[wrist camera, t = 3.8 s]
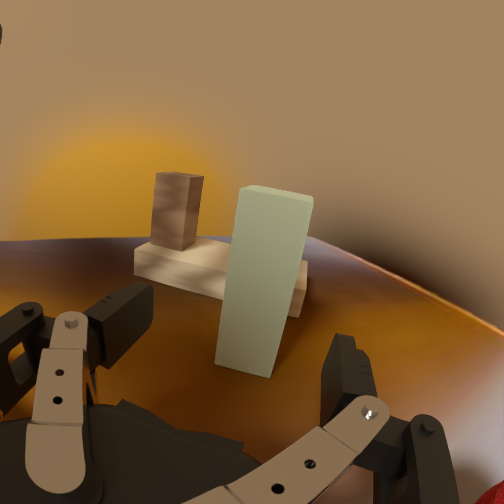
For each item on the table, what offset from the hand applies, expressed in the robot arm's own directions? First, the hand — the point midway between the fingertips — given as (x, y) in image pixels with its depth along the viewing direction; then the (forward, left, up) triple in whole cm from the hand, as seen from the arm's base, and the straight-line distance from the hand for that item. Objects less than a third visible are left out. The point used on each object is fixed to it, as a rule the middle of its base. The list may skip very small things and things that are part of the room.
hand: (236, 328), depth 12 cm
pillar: (0, +7, -7) cm, 10 cm away
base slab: (-5, +19, -7) cm, 21 cm away
